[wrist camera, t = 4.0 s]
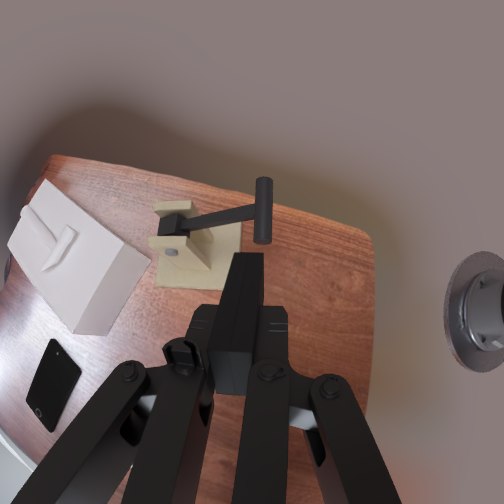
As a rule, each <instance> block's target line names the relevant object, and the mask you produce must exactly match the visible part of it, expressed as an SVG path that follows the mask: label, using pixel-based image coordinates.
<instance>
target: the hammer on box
mask: <svg viewBox="0 0 504 504" xmlns="http://www.w3.org/2000/svg"><path fill="white" fill-rule="evenodd" d="M7 246H8V247H9V249H10V251H11V252H12V254H13V256H14V257H15V259H16V260H17V262H18V263H19V265H20V267H21V268H22V270H23V271H24V273H25V274H26V275H27V277H28V278H29V280H30V281H31V283H32V284H33V285H34V287H35V288H36V290H37V291H38V292H39V294H40V295H41V296H42V298H43V299H44V300H45V302H46V303H47V304H48V305H49V307H50V308H51V309H52V310H53V312H54V313H55V314H56V315H57V317H58V318H59V319H60V320H61V321H62V322H63V324H64V325H65V326H66V327H67V328H68V329H69V331H70V332H71V333H72V334H80V335H95V336H107V334H108V332H109V330H110V329H111V327H112V325H113V323H114V322H115V320H116V318H117V316H118V315H119V313H120V311H121V309H122V308H123V306H124V304H125V303H126V301H127V299H128V298H129V296H130V294H131V293H132V291H133V289H134V288H135V286H136V285H137V283H138V281H139V280H140V278H141V277H142V275H143V273H144V272H145V270H146V269H147V267H148V265H149V264H150V262H151V261H152V260H150V259H149V258H147V257H146V256H145V255H143V254H142V253H141V252H139V251H138V250H136V249H135V248H134V247H132V246H131V245H130V244H128V243H127V242H126V241H124V240H123V239H122V238H120V237H119V236H118V235H116V234H115V233H114V232H112V231H111V230H110V229H108V228H107V227H106V226H105V225H103V224H102V223H101V222H99V221H98V220H97V219H96V218H94V217H93V216H92V215H91V214H89V213H88V212H87V211H86V210H84V209H83V208H82V207H81V206H79V205H78V204H77V203H76V202H75V201H73V200H72V199H71V198H70V197H68V196H67V195H66V194H64V193H63V192H62V191H61V190H59V189H58V188H57V187H55V186H54V185H53V184H52V183H50V182H49V181H48V180H47V179H45V180H44V181H43V183H42V184H41V186H40V187H39V189H38V190H37V192H36V193H35V195H34V197H33V198H32V200H31V202H30V203H29V205H26V206H24V208H23V209H22V211H21V219H20V221H19V222H18V224H17V226H16V228H15V230H14V232H13V234H12V236H11V238H10V240H9V242H8V244H7Z"/></svg>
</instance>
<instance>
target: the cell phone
mask: <svg viewBox="0 0 504 504" xmlns="http://www.w3.org/2000/svg"><path fill="white" fill-rule="evenodd" d="M80 375H81V370H80V368H79V367H78V366H77V365H76V364H75V363H74V362H73V360H72V359H71V358H70V357H69V356H68V355H67V353H66V352H65V351H64V350H63V348H62V347H61V346H60V345H59V343H58V342H57V341H56V340H55V339H50V341H49V343H48V345H47V348H46V350H45V352H44V354H43V357H42V359H41V361H40V364H39V366H38V368H37V371H36V373H35V376H34V379H33V381H32V384H31V386H30V389H29V392H28V395H27V397H26V402H27V404H28V405H29V407H30V408H31V409H32V411H33V412H34V413H35V415H36V416H37V417H38V419H39V420H40V421H41V422H42V424H43V425H44V426H45V427H46V429H47V430H48V431H49V432H50V433H51V432H53V431H54V428H55V426H56V424H57V422H58V419H59V417H60V415H61V413H62V411H63V409H64V406H65V404H66V402H67V400H68V398H69V396H70V394H71V392H72V390H73V388H74V386H75V384H76V382H77V380H78V378H79V376H80Z"/></svg>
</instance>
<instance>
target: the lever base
mask: <svg viewBox="0 0 504 504" xmlns="http://www.w3.org/2000/svg"><path fill="white" fill-rule="evenodd" d="M153 210H154V212H155V213H156V214H157V215H158V216H159V217H160V218H162V217H166V216H169V215H173V214H176V213H178V214H180V215H182V216H183V217H185V218H187V219H188V218H193V217H197V216H201V215H200V213H199V212H198V210H197V209H196V207H195V205H194V204H193V202H192V201H191V200H188V201H162V202H154V207H153ZM242 226H243V224H242V222H238V223H232V224H227V225H222V226H216V227H211V228H206V229H201V230H196V231H191V232H190V239H189V238H188V237H187V236H148V241H147V245H148V246H149V247H151V248H152V249H153V250H155V251H156V252H157V253H159V257H158V265H157V273H156V282H155V285H156V286H158V287H164V288H180V289H198V290H218V291H223V289H224V285H225V282H226V278H227V275H228V271H229V268H230V265H231V261H232V258H233V254H234V252H241V242H242Z"/></svg>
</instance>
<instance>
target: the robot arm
mask: <svg viewBox="0 0 504 504" xmlns="http://www.w3.org/2000/svg"><path fill="white" fill-rule="evenodd" d="M263 302H264V254H263V253H247V252H234V254H233V258H232V261H231V265H230V268H229V271H228V275H227V278H226V282H225V285H224V289H223V292H222V296H221V299H220V302H219V305H212V304H201V305H200V306H199V307H198V308H197V309H196V310H195V311H194V314H193V317H192V319H191V322H190V325H189V328H188V330H187V333H186V335H185V337H181V338H176V339H173V340H170V341H169V342H168V343H166V344H165V345H164V347H163V348H162V350H163V353H164V356H165V358H166V361H167V364H166V365H164V366H159V367H151V368H145V367H144V365H143V364H142V363H140V362H139V361H134V360H130V361H125V362H123V363H120V364H119V365H118V366H117V367H116V368H115V369H114V370H113V372H112V373H111V374H110V375H109V376H108V378H107V379H106V380H105V381H104V382H103V384H102V385H101V386H100V387H99V389H98V390H97V391H96V392H95V393H94V395H93V396H92V397H91V398H90V400H89V401H88V402H87V403H86V405H85V406H84V407H83V408H82V410H81V411H80V412H79V413H78V415H77V416H76V417H75V418H74V420H73V421H72V422H71V423H70V425H69V426H68V427H67V428H66V430H65V431H64V432H63V434H62V435H61V436H60V437H59V439H58V440H57V441H56V443H55V444H54V445H53V447H52V448H51V449H50V450H49V452H48V453H47V454H46V456H45V457H44V458H43V460H42V461H41V462H40V464H39V465H38V466H37V468H36V469H35V471H34V472H33V473H32V474H31V476H30V477H29V479H28V480H27V482H26V483H25V484H24V485H23V487H22V488H21V490H20V491H19V492H18V494H17V495H16V497H15V498H14V499H13V501H12V503H11V504H107V503H108V501H109V500H110V498H111V497H112V495H113V494H114V492H115V490H116V489H117V487H118V486H119V484H120V483H121V481H122V480H123V478H124V477H125V475H126V474H127V472H128V471H129V469H130V468H131V466H132V464H133V466H132V469H131V472H130V475H129V478H128V482H127V485H126V488H125V492H124V495H123V498H122V502H121V504H195V500H196V494H197V489H198V484H199V479H200V474H201V469H202V464H203V459H204V454H205V449H206V444H207V439H208V434H209V429H210V424H211V419H212V414H213V409H214V399H213V394H214V390H216V394H226V395H239V396H246V401H245V408H244V416H243V423H242V431H241V438H240V446H239V453H238V460H237V467H236V475H235V482H234V489H233V496H232V502H231V504H286V488H287V466H288V436H289V425H291V426H294V427H297V428H301V429H302V430H303V433H304V437H305V440H306V443H307V447H308V450H309V453H310V456H311V460H312V463H313V466H314V469H315V473H316V476H317V479H318V482H319V486H320V489H321V492H322V495H323V499H324V502H325V504H402V503H401V500H400V498H399V496H398V493H397V491H396V488H395V486H394V484H393V481H392V479H391V477H390V474H389V472H388V469H387V467H386V465H385V463H384V460H383V458H382V456H381V453H380V451H379V449H378V447H377V444H376V442H375V440H374V437H373V435H372V433H371V431H370V428H369V426H368V424H367V422H366V420H365V417H364V415H363V413H362V411H361V409H360V407H359V404H358V402H357V400H356V398H355V396H354V394H353V391H352V389H351V387H350V385H349V384H348V382H347V381H346V380H345V379H344V378H342V377H341V376H339V375H335V374H323V375H321V376H319V377H317V378H316V379H313V378H309V377H305V376H303V375H300V374H298V373H297V372H295V371H294V370H293V369H292V368H291V366H290V364H289V360H288V314H287V312H286V311H285V309H284V307H283V306H263ZM464 320H465V326H466V330H467V333H468V336H469V338H470V340H471V342H472V343H473V345H474V346H475V347H476V348H478V349H479V350H481V351H484V352H494V351H497V350H500V349H502V348H504V270H501V269H489V270H486V271H484V272H481V273H480V274H478V275H477V276H476V277H475V278H474V279H473V281H472V282H471V284H470V286H469V288H468V291H467V294H466V298H465V305H464Z"/></svg>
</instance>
